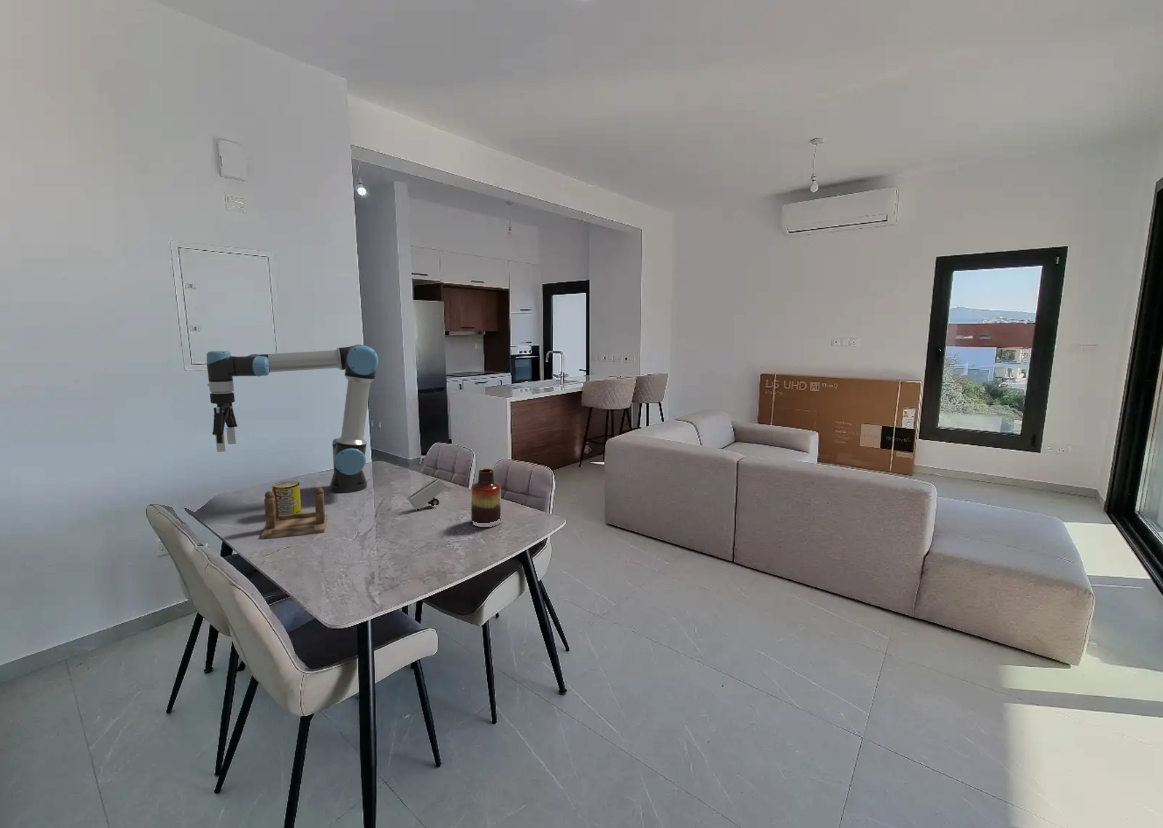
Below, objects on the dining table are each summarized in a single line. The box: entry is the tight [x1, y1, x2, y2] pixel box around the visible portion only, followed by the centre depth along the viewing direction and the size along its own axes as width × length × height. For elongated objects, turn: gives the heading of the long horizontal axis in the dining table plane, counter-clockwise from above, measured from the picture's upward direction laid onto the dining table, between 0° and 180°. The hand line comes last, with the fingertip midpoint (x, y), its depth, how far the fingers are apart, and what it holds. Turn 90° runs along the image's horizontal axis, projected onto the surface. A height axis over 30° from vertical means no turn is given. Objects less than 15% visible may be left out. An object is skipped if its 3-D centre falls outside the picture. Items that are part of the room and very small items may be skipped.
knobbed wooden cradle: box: [260, 487, 329, 540], centre depth 182 cm, size 19×15×14 cm
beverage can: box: [271, 480, 302, 519], centre depth 195 cm, size 9×9×12 cm
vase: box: [470, 468, 502, 523], centre depth 192 cm, size 11×11×20 cm
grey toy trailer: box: [406, 478, 448, 510], centre depth 207 cm, size 4×10×15 cm
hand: (227, 447), depth 196 cm, fingers open, 13 cm apart
